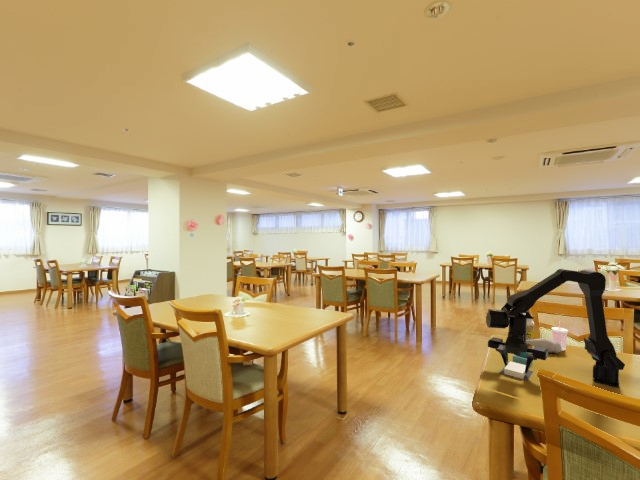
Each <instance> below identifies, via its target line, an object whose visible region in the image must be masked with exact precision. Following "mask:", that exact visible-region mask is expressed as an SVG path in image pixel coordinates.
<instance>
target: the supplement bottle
mask: <svg viewBox="0 0 640 480" xmlns="http://www.w3.org/2000/svg"><path fill="white" fill-rule="evenodd" d="M530 315H531V316H532V317H534V316H533V315H532V314H530ZM535 326H536V324H535V322H534V320H533V319H527V331H526V332H527V334H526V340H532V339H535ZM526 343H527V342H526ZM528 344H529V343H527V345H528ZM529 345H530V344H529Z"/></svg>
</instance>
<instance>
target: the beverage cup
mask: <svg viewBox="0 0 640 480" xmlns="http://www.w3.org/2000/svg"><path fill="white" fill-rule="evenodd" d="M561 319H562V318H561V317H559V319H558V321H559V323H558V326H552V327H551V336H552V337H551V338H552V341H553V342H556V343H558V344H560V346H561V351H566V349H567V347H566V346H567V341H568V340H567V338H568V333H569V329H567V328H565V327H561V321H562V320H561Z"/></svg>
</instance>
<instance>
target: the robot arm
mask: <svg viewBox="0 0 640 480" xmlns="http://www.w3.org/2000/svg"><path fill="white" fill-rule="evenodd" d="M567 282H573V283H577V284H578V287H579V289H580V291H581V292H582V293H583V295H584V300H585V308H586V313H587V314H586V315H587V320H588V328H589V335H588V337H587V338H585V337H584V338H583V342H584V349H585V350H586V352H587V353H588V354H589V355H590V357H591V359H592V360H593V361H595V364H593V365H592V378H593V381H594V382H595V383H599V384H603V385H608V386H611V387H615V388H619V387H620V380H619V379H620V378H619V377H620V375H619V374H620V371H623V370H624V369H625V366H626V364H625V363H624V362H623V361H622V360H621V359H620V358H619V357H618V356H617V352H616V349H615V347H614V344H613V343H612V341H611V339H610V338H609V336H608V330H607V323H606V316H605V308H604V302H603V295H604V293H605V291H606V283H607V279H606V276H605V275H604V274H603V273H601V272H599V271H595V270H590V269H582V270H580V271H577V270H569V269H565V268H559V269H557V270H556V271H555V272H553V273H552V274H550V275H548V276H547V277H545V278H544V279H543V280H541V281H539V282H537V283H536V284H535V285H532V286H531V287H530V288H528V289H525V290H522V291H521V290H520V291H518V292H516V293H513V294H511V295H509V296H508V298H507V302H506V303H505V304H504V305H503V306H502V307H501V309H492V308H491V309H489V308H488V310H487V311H488V312H487V313H486V316H485V323H486V324H485V325H486V326H487V328H490V329H502V330H503V329H506V328H508V332H507V336H506V340H505V341H504V339H503V338H499V337H495V336H493V337H491V338H489V340H488V342H487V347H488V348H490V349H494V350H495V351H496V352H497V353H499V354H500V356H501V357H502V360H503V363H504V367H506V366H507V365H508V363H509V354H511V355H512V354H513V355H514V354H515V355H520V354H521V352H522V353H523V352H525V353H528V354H529V355H528V356H527V362H526V368H525V373H527V372H528V370H529V369H530V368H529V367H531V366H532V365H531V363H532V361H533V362H534V361H537V360H541V361H546V360H547V358H548V357H549V353H548V350H547V349H546V348H542V347H538V346H535V347H534V346H533V347H528V346H529V345H528V343H526V334H527V332H526V331H527V319H532V320H533V319H534V316H533V315H532V314H531V313H530V312H529V310H530V309H531V308H533V307H534V306H535V304H536V302H537V301H539V299H540V298H543V297H544V296H545V295H547V294H548V293H551V292H552V291H554V290H555V289H557V288H559V287H560V286H562V285H563V284H565V283H567ZM531 315H532V316H533V317H532V316H531ZM532 364H533V363H532ZM530 365H531V366H530Z"/></svg>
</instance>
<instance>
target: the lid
mask: <svg viewBox="0 0 640 480" xmlns="http://www.w3.org/2000/svg"><path fill="white" fill-rule="evenodd" d="M504 367H505V366H504ZM504 367H503V368H504ZM525 368H526V365H523V364H519V363H515V362H513V361H508V365H507V366H506V367H505V368H504V374H507V375H510V376H514V377H518V378H521V379H523V378H524V376H525V375H526V373H525Z"/></svg>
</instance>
